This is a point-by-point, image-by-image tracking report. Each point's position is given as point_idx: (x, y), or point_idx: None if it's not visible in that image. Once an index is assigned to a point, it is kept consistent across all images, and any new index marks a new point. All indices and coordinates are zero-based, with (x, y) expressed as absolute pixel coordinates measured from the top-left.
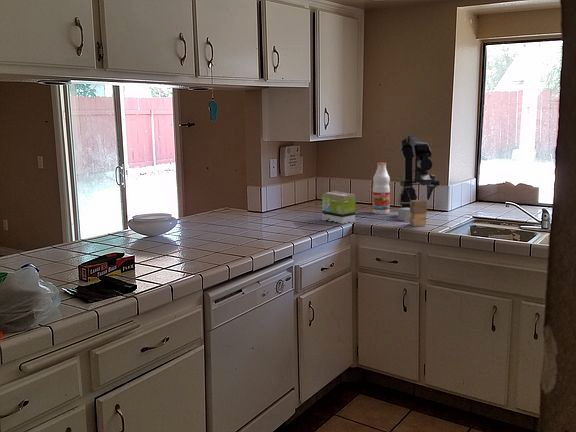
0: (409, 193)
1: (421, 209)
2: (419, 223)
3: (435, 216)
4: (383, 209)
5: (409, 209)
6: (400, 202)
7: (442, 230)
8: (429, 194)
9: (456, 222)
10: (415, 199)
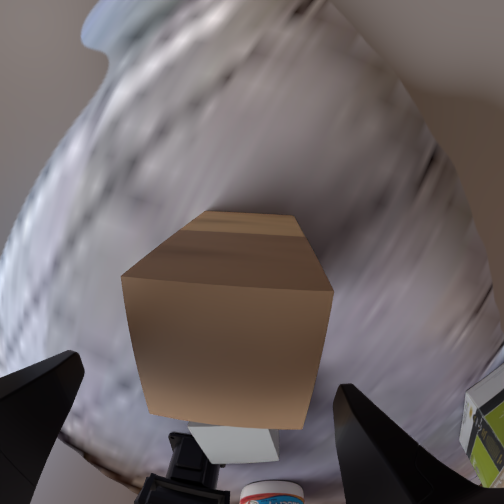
0: (428, 455)
1: (226, 246)
2: (255, 216)
3: (84, 396)
4: (278, 494)
5: (229, 428)
6: (229, 501)
7: (182, 39)
8: (23, 382)
9: (27, 249)
10: (146, 492)
